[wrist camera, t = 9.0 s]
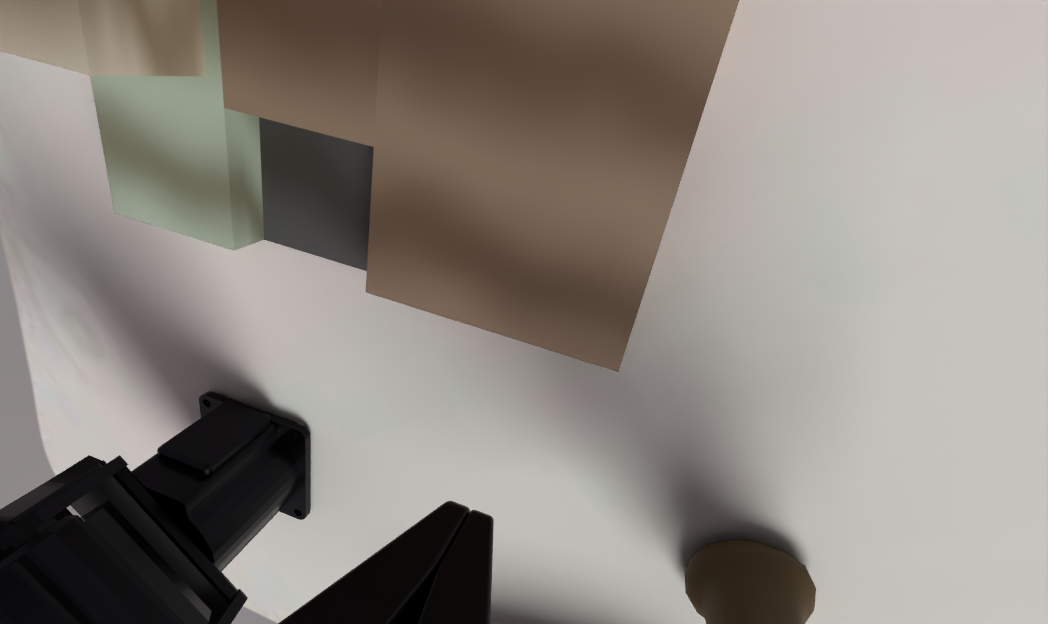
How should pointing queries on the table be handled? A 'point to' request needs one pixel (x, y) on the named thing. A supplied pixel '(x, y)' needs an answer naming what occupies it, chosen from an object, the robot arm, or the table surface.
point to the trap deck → (434, 148)
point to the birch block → (107, 35)
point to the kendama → (749, 585)
